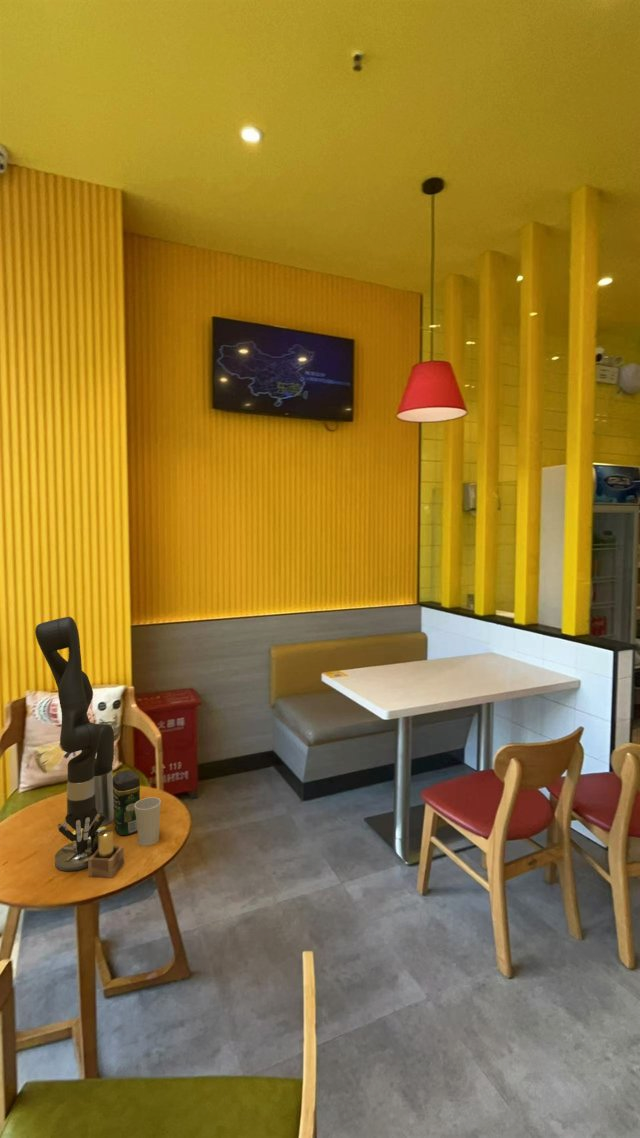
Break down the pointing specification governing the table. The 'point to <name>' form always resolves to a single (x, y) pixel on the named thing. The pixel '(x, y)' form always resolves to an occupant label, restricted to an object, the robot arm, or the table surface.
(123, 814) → the coffee jar
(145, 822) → the cup
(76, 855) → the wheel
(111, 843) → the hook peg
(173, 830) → the table surface
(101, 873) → the block
